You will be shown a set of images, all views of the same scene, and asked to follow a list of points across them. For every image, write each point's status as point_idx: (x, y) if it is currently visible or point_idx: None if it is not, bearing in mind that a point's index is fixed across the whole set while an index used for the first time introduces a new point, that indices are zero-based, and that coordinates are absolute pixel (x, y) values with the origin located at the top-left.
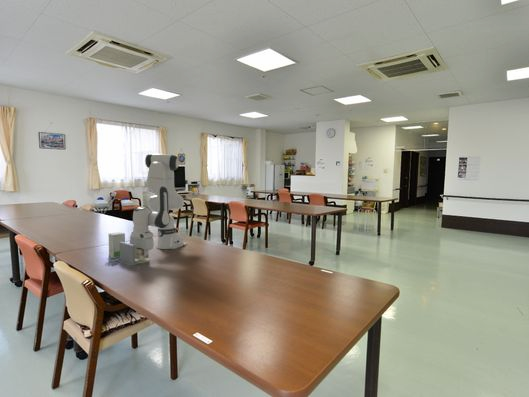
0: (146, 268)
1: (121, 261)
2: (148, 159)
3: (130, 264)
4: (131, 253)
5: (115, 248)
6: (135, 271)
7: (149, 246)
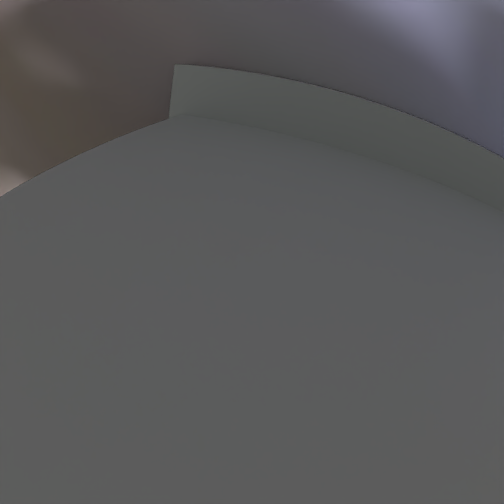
0: (9, 126)
1: (475, 148)
2: None
3: (184, 72)
4: (69, 184)
5: None
6: (18, 12)
7: None
